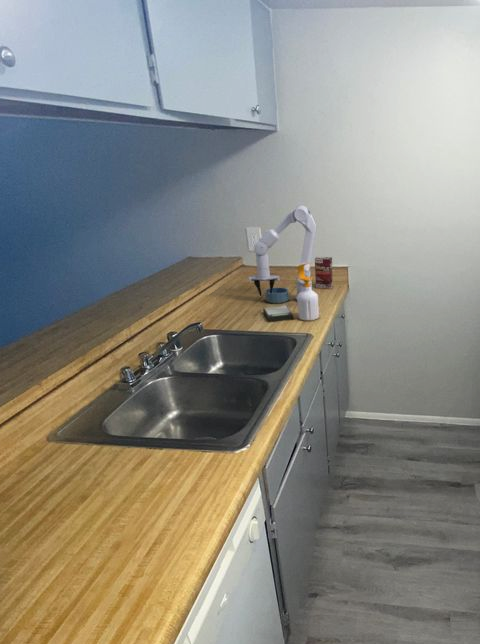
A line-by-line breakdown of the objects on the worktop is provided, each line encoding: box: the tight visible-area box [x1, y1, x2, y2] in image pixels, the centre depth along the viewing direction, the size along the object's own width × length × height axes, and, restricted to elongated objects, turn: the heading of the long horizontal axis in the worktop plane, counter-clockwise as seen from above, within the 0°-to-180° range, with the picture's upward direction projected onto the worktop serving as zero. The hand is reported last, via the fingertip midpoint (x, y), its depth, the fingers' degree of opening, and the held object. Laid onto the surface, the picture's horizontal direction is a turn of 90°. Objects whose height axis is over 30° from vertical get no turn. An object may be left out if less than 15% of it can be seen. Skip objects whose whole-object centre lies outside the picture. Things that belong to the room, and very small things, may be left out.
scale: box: [262, 305, 294, 323], centre depth 214 cm, size 13×11×3 cm
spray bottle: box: [296, 261, 320, 322], centre depth 207 cm, size 9×9×25 cm
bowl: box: [264, 287, 290, 304], centre depth 234 cm, size 11×11×5 cm
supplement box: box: [314, 256, 334, 290], centre depth 253 cm, size 9×5×16 cm, turn 81°
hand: (265, 295), depth 233 cm, fingers open, 4 cm apart
